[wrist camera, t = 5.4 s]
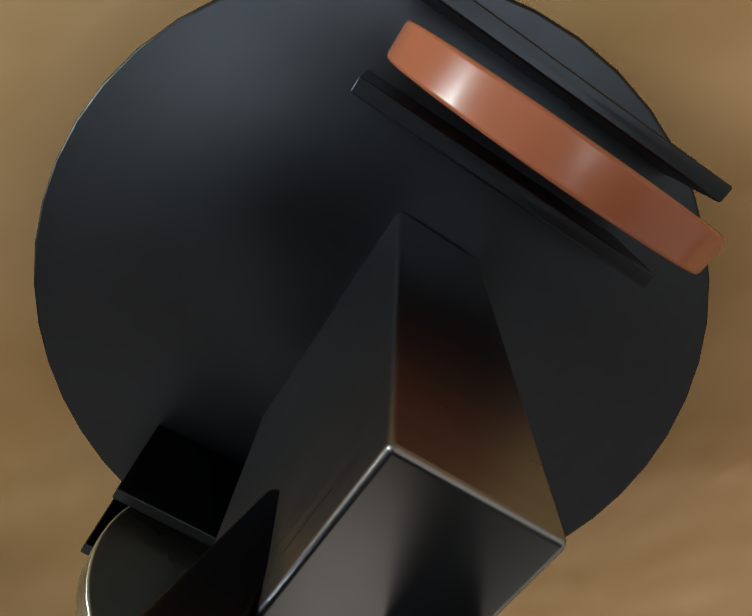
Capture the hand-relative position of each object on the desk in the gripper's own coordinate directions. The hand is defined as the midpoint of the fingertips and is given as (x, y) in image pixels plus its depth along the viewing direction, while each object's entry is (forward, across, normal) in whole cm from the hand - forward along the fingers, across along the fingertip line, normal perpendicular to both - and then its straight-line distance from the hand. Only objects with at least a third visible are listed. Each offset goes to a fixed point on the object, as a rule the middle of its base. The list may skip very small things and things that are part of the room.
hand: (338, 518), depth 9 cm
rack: (+8, 0, 0) cm, 8 cm away
